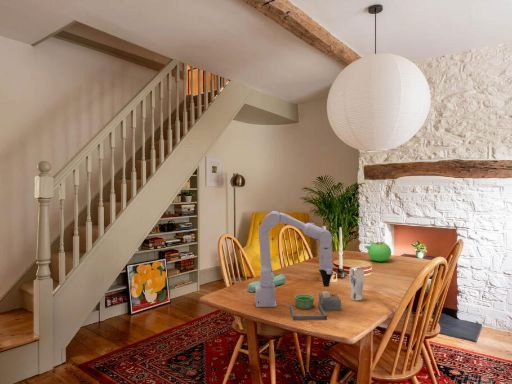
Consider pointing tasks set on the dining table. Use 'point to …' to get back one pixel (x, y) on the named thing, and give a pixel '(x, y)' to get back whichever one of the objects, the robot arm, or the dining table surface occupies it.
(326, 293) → the breaker button
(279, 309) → the dining table surface
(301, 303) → the ramekin
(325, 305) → the box
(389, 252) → the green round body
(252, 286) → the teal cylinder
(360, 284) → the beer glass
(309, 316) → the frame
